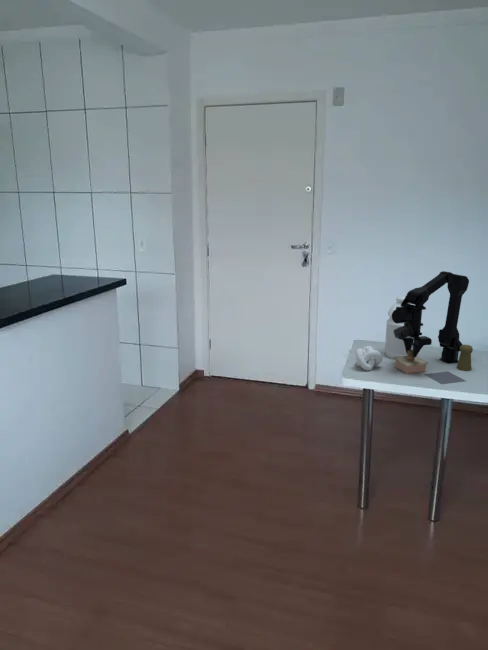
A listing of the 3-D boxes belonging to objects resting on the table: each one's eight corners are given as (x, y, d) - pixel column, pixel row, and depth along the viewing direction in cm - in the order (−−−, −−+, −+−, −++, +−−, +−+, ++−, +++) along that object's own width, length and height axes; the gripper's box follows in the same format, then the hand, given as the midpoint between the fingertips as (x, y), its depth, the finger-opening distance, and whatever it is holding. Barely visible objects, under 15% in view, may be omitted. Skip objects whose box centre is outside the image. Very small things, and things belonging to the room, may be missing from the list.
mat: (447, 372, 223) (447, 371, 223) (466, 382, 212) (466, 381, 212) (423, 375, 220) (423, 374, 220) (441, 385, 209) (441, 384, 209)
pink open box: (412, 365, 231) (413, 357, 230) (425, 372, 223) (425, 363, 222) (395, 367, 229) (395, 359, 228) (406, 374, 221) (407, 365, 220)
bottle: (378, 353, 248) (381, 296, 241) (399, 349, 255) (404, 293, 247) (399, 362, 236) (404, 301, 229) (421, 357, 243) (426, 298, 235)
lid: (413, 356, 231) (414, 346, 230) (427, 363, 222) (428, 353, 220) (393, 358, 228) (394, 348, 227) (406, 366, 219) (407, 355, 218)
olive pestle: (464, 372, 223) (467, 348, 220) (453, 368, 228) (455, 344, 225) (474, 370, 225) (477, 346, 223) (463, 366, 231) (465, 342, 228)
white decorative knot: (370, 374, 221) (372, 354, 218) (346, 368, 229) (347, 348, 227) (384, 368, 229) (385, 348, 226) (360, 362, 237) (361, 343, 234)
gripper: (385, 316, 227) (383, 350, 231) (410, 327, 209) (407, 364, 213) (407, 314, 230) (405, 348, 234) (434, 325, 212) (430, 361, 216)
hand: (411, 355), depth 224 cm, fingers open, 5 cm apart
